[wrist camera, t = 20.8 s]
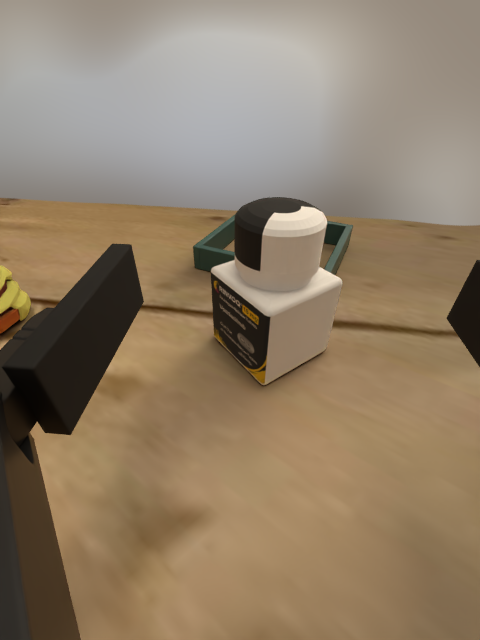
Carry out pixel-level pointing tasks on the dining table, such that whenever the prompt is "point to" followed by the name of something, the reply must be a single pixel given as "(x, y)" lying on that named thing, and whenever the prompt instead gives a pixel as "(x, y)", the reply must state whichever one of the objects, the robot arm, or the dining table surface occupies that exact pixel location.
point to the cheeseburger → (11, 301)
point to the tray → (212, 254)
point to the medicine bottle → (275, 288)
